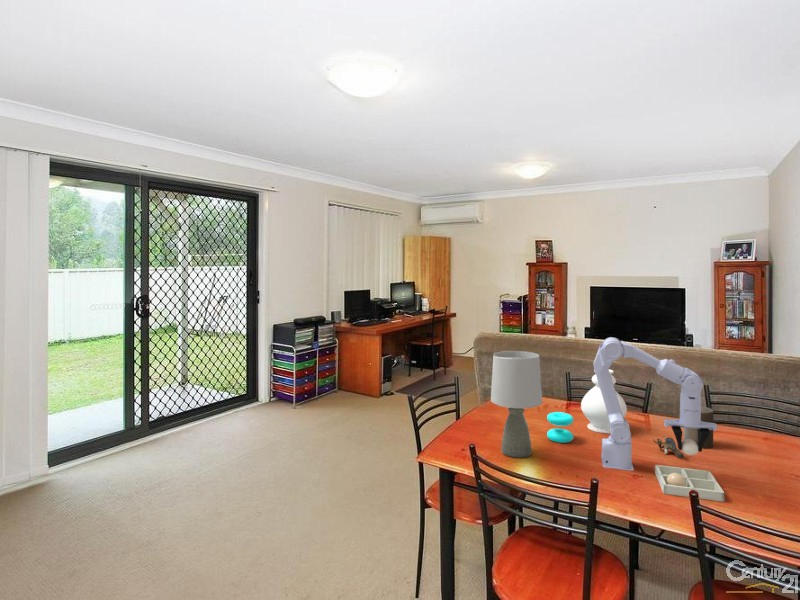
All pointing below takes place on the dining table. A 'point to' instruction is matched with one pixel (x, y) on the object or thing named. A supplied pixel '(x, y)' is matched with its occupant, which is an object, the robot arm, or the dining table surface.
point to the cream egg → (689, 447)
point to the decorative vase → (599, 407)
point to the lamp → (516, 396)
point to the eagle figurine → (669, 446)
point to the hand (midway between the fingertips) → (689, 449)
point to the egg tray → (690, 483)
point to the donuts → (558, 433)
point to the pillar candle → (693, 433)
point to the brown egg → (676, 480)
